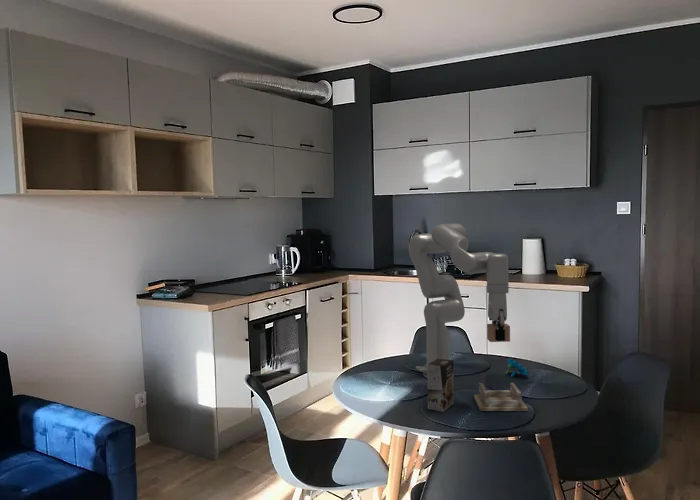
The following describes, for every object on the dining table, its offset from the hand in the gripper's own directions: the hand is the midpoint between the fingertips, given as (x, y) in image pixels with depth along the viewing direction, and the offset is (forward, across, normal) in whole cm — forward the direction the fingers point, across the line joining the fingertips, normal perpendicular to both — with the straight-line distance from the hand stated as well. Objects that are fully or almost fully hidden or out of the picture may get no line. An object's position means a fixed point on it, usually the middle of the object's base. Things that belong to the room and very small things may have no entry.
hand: (498, 338), depth 203 cm
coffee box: (+23, +5, -22) cm, 32 cm away
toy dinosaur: (+23, -30, +14) cm, 41 cm away
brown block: (+1, 0, 0) cm, 1 cm away
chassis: (+23, +3, 0) cm, 23 cm away
